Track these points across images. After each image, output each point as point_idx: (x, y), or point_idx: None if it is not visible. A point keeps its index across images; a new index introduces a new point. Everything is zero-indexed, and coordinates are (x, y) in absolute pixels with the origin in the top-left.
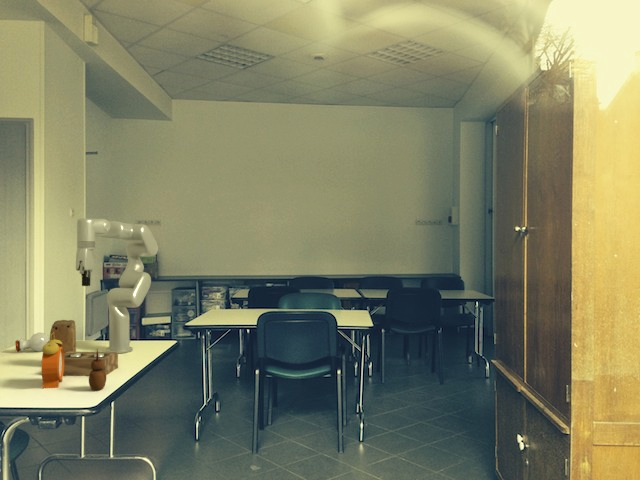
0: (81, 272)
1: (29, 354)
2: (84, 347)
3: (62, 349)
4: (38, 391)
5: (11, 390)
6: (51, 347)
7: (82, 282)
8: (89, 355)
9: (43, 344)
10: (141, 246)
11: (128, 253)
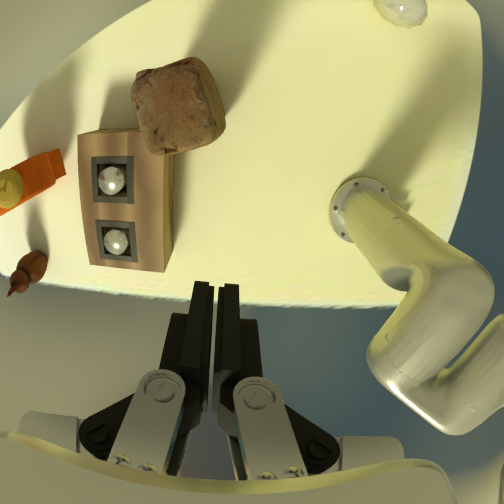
0: (35, 432)
1: None
2: (421, 111)
3: (17, 205)
4: None
5: (17, 118)
6: None
7: (189, 312)
8: (116, 216)
9: (383, 12)
10: None
11: None
